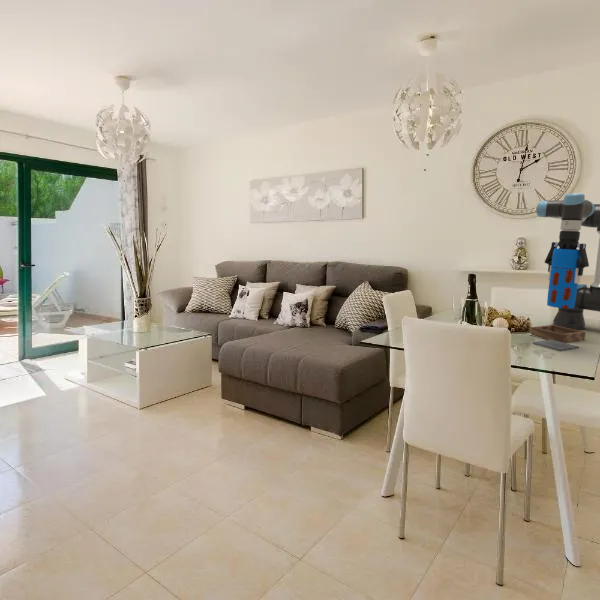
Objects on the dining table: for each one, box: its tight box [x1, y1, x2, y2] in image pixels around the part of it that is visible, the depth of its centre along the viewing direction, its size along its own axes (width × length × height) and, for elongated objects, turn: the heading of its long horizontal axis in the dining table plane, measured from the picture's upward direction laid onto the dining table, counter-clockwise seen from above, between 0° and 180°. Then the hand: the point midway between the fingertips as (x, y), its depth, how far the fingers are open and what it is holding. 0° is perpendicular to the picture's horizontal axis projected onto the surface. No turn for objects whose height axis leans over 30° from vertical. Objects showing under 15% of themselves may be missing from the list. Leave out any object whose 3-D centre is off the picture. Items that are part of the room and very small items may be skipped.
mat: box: [532, 339, 580, 352], centre depth 202 cm, size 13×13×1 cm
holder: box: [529, 324, 586, 344], centre depth 218 cm, size 16×16×4 cm
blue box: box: [546, 248, 581, 309], centre depth 197 cm, size 11×11×25 cm
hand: (563, 281), depth 198 cm, fingers closed on blue box, 11 cm apart
